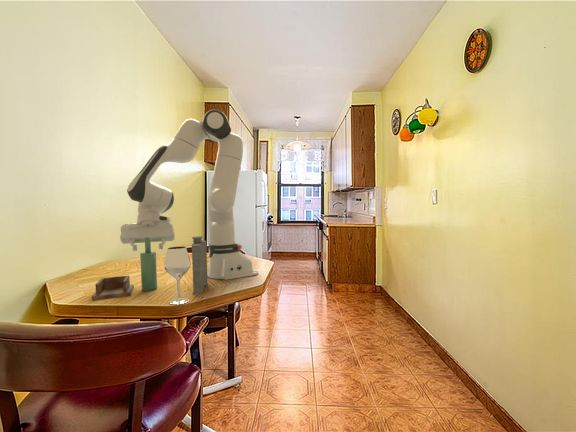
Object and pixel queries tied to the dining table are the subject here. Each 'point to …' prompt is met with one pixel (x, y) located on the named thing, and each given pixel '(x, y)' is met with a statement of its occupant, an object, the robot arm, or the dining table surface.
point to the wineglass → (177, 268)
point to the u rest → (113, 287)
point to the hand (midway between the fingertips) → (148, 249)
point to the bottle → (148, 268)
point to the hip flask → (199, 264)
